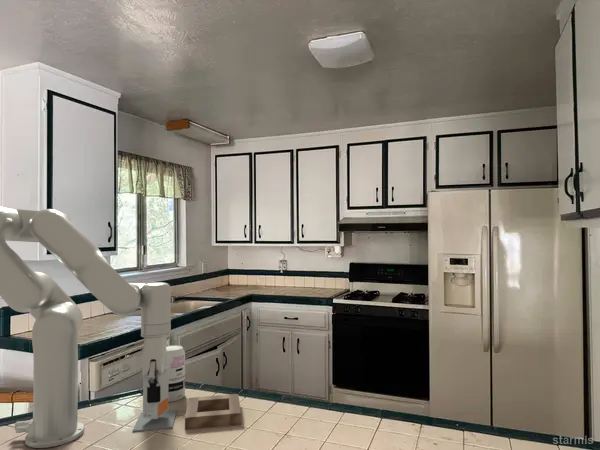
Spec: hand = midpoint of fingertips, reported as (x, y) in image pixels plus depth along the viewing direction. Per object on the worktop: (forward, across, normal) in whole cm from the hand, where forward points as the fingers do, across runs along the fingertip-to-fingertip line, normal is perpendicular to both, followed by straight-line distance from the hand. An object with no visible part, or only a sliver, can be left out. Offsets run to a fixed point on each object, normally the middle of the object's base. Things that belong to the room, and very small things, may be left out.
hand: (156, 396), depth 111 cm
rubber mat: (+7, 0, 0) cm, 7 cm away
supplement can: (+7, -17, +2) cm, 18 cm away
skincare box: (+5, 0, 0) cm, 5 cm away
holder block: (+7, 0, +15) cm, 16 cm away
